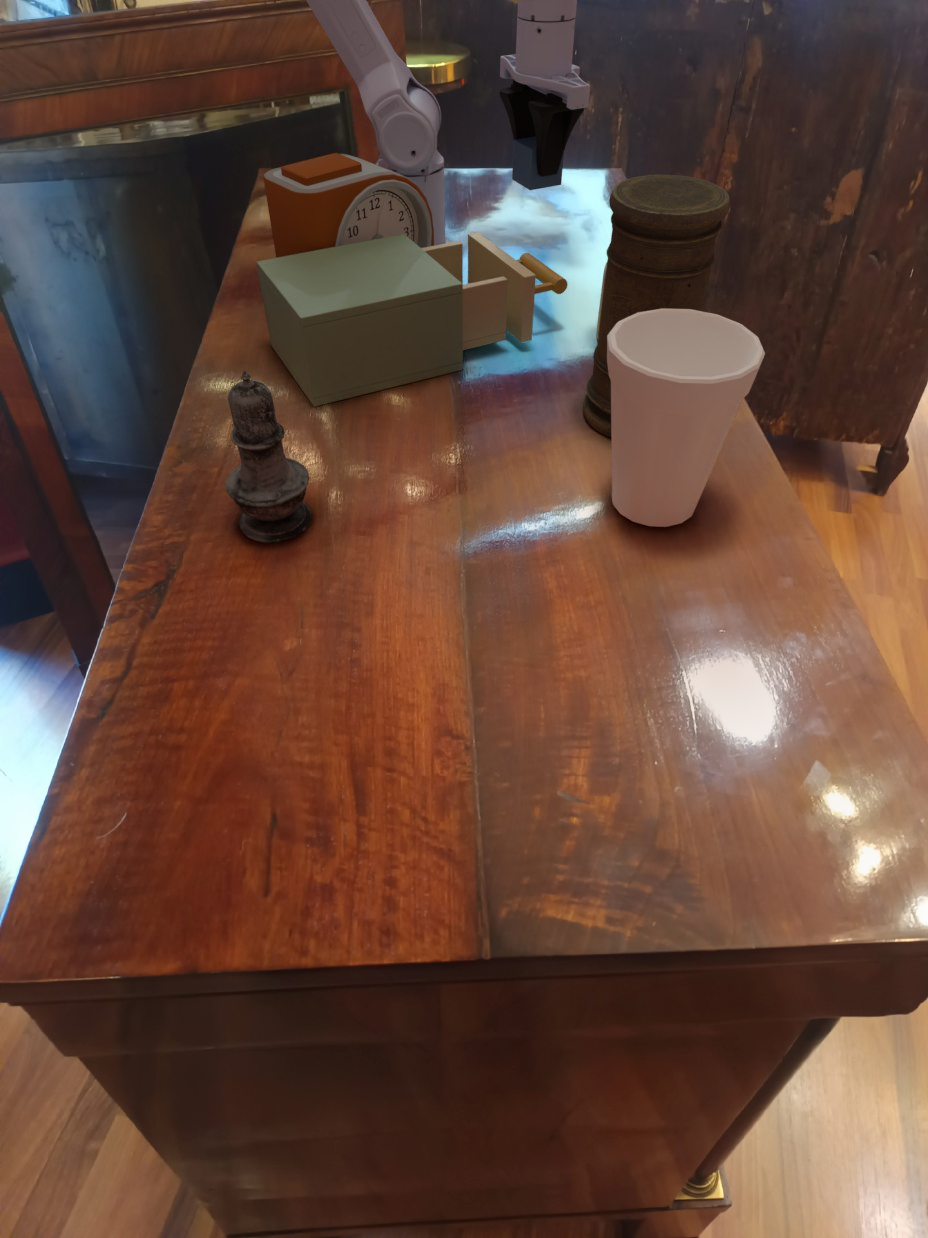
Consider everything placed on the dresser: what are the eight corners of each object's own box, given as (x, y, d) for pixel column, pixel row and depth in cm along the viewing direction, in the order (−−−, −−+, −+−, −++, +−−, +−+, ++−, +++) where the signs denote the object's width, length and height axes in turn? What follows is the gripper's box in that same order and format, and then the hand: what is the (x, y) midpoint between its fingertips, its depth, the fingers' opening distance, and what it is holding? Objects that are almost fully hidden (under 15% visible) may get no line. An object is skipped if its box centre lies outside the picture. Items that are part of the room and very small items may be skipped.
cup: (740, 540, 59) (792, 374, 50) (605, 554, 58) (632, 386, 49) (693, 461, 66) (731, 302, 57) (572, 472, 65) (590, 312, 56)
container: (686, 450, 67) (739, 219, 54) (577, 438, 68) (602, 209, 55) (688, 394, 73) (735, 174, 60) (587, 384, 74) (612, 167, 62)
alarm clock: (323, 335, 81) (304, 187, 71) (276, 306, 86) (252, 163, 76) (437, 292, 88) (434, 152, 78) (389, 267, 92) (380, 132, 83)
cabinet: (408, 314, 84) (404, 233, 78) (463, 369, 76) (463, 283, 71) (271, 345, 80) (255, 261, 74) (313, 407, 72) (300, 317, 66)
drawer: (519, 285, 87) (522, 223, 83) (576, 329, 80) (582, 264, 75) (356, 320, 81) (350, 256, 77) (402, 372, 74) (398, 304, 70)
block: (511, 179, 92) (513, 139, 89) (542, 173, 93) (545, 134, 90) (530, 190, 89) (532, 149, 86) (561, 184, 90) (564, 144, 88)
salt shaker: (274, 556, 58) (241, 405, 49) (218, 524, 60) (177, 375, 52) (332, 514, 61) (310, 366, 53) (277, 486, 64) (247, 340, 55)
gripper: (622, 26, 77) (604, 182, 87) (543, 0, 86) (535, 144, 96) (558, 33, 75) (547, 193, 84) (484, 6, 84) (481, 153, 94)
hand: (537, 168), depth 90 cm, fingers closed on block, 4 cm apart
